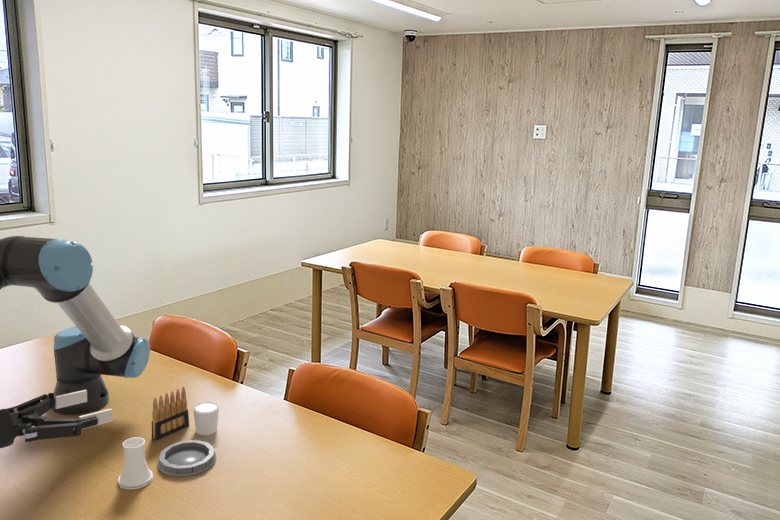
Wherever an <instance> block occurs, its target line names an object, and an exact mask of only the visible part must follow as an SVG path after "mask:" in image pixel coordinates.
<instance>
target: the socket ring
mask: <svg viewBox="0 0 780 520" xmlns="http://www.w3.org/2000/svg"><path fill="white" fill-rule="evenodd" d="M216 460H217V455H216V452H215V447H214V446H213V445H211V443H209V442H207V441H203V440H199V439H189V440H180V441H178V442H175V443H172V444H169V445H167V446H166V447H165V448H164V449H162V450H161V452H160V454H159V458H158V460H157V468H158V471H160V473H162V474H164V475H166V476H168V477H173V478H188V477H194V476H196V475H200V474H202V473H205V472H206V471H208V470H209V469H211V468H212V467H213V466H214V465H215V463H216Z"/></svg>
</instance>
